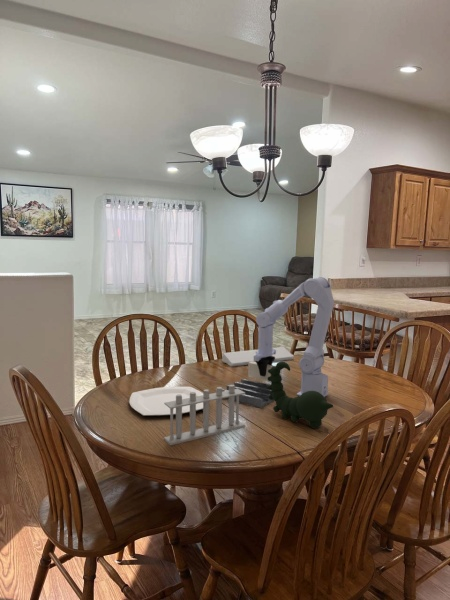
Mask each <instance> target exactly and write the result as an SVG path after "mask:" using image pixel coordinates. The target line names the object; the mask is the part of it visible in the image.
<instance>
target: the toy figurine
mask: <svg viewBox="0 0 450 600" xmlns="http://www.w3.org/2000/svg"><path fill="white" fill-rule="evenodd" d="M273 366H274V367H272V368H271V369H269V370H268V372H269V373H270V374H271V376H270V377H268V381H267V382H269V381H271V382H270V383H271V384H270V385H271V386H268V390H272V395H269V399H270V400H274V401H275V406H273V411H274V412H275V413H278V412H280V411H281V418H282V419H283V420H287V419H288V418H290V420H291V421H292V422H293V423H297V422H299V420H302V419H303V420H304V421H306V422H309V426H310V428H312V429H318V428H319V427H321V426H322V424H323V421H322V420H324V419H325V417H326V416H327V415H328V411H329V410H330V409H332V408H333V407H334V404H332V403H330V402H328V401H327V399H326V396H325V397H324V396H323V395H322V394H321V393H319V392H317V391H307V392H304V393H303V394H301V395H300V396H295V397H289V396H288V395H287V394H286V391H285V390H284V384H283V382H281V380H283V379H282V378H283V376H282V377H281V375H280V370H282V371H283V369H286V370H288V372H290V371H291V367H290V365H289V363H287V362H285V361H278V362H276V365H273ZM274 401H273V402H274Z"/></svg>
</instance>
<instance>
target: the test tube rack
mask: <svg viewBox="0 0 450 600" xmlns="http://www.w3.org/2000/svg"><path fill="white" fill-rule="evenodd" d="M228 385H229V390H228V391H223V392H222V389H223V387H222V386H217V387H216V389H215V392H213V393H210V389H203V391H202V393H203V395H202V396H197V397H196V392H190V398H186V399H182V395H180V394H178V395H176V401H171V402H165V403H164V404H165V405H166V406H167V407H169V408H170V415H169V416H170V417H169V418H170V419H169V421H170V423H169V424H170V427H169V428H170V429H169V430H170V431H169V432H170V433H169V434H170V435H168V436H164V437H163V440H164V441H165V442H166V443H167V444H168V445H169V446H174V445H179V444H182V443H186V442H191V441H195V440H198V439H201V438H202V439H203V438H206V437H211V436H215V435H217V434H218V435H220V434H223V433H227V432H231V431H234V430H237V429H242V428H245V427H246V424H245V423H243V422H241V421H240V419H239V418H240V417H239V415H240V412H239V411H240V408H239V407H240V405H239V404H240V402H239V395H242V394H245V392H243V391H241V390H239V389H235V387H234V384H228ZM235 396H236V401H234V397H235ZM227 397H229V400H228V417H227V418H228V421H227V422H223V420H222V419H223V416H222V415H223V399H225V398H227ZM211 401H215V402H216V404H215V424H213V425H210V402H211ZM202 402H203V409H202V411H203V412H202V427H201V428H198V429H197V427H196V426H197V418H196V416H197V415H196V414H197V413H196V412H197V411H196V404H197V403H202ZM188 405H190V412H189V431H185V432H183V414H182V407H183V406H188ZM235 406H236V407H235ZM174 408H176V415H175V434H174V415H173V409H174Z"/></svg>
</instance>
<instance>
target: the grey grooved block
mask: <svg viewBox="0 0 450 600" xmlns="http://www.w3.org/2000/svg"><path fill="white" fill-rule="evenodd" d="M229 385H230V384H228V385H226V389H225V388H222V392H223V391H228V390H229ZM233 385H234V387H235V389H239V390H241V391H243V392H245V394H242V395H239V404H240V403H241V404H243V405H248V406H252V407H256V408H259V409H262V408H264V407H265V406H267V405H269V404H270V403H273V402H274V400H270V399H269V395H272V390H268V386H271V384H269V383H264V382H259V381H255V380H250V379H246V378H241V379H240V382H238V381H234V382H233ZM224 400H228V401H229V397H227V398H224ZM234 402H236V396H235V397H234Z"/></svg>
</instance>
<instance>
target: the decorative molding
mask: <svg viewBox="0 0 450 600" xmlns="http://www.w3.org/2000/svg"><path fill="white" fill-rule="evenodd" d="M272 349H275V350H276V354H273V355H272V356H274V357H275V360H274V361H273V363H274V362H284V361H291V360H293V359H294V358H295V355H293V353H291V352H290V351H289V350H288V349H287V348H285V347H284V346H277V347H272ZM256 351H258V349H249V350H239V351H234V352H233V351H231V352H230V351H229V352H223V353H222V359H221V362H222V363H223V364H224V363H226V365H227V366H229V367H240V366H247V365H248V363H249V362H251V361H252V362H256V361H254V355H256V354H257V353H256Z"/></svg>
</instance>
